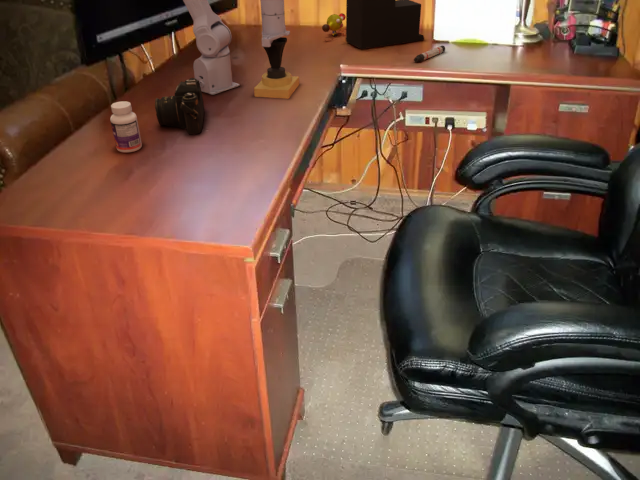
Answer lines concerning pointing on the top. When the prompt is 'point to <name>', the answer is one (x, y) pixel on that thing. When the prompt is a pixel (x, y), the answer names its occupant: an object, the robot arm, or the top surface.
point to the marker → (429, 53)
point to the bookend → (382, 22)
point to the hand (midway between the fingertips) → (275, 67)
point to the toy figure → (334, 23)
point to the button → (276, 73)
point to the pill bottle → (125, 127)
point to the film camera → (182, 107)
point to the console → (276, 86)
